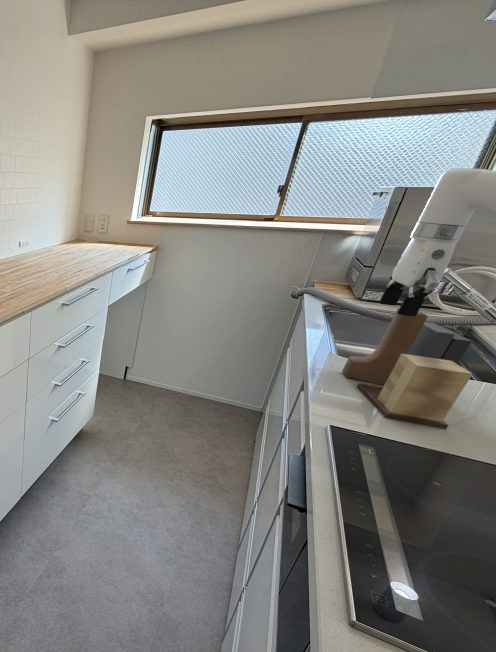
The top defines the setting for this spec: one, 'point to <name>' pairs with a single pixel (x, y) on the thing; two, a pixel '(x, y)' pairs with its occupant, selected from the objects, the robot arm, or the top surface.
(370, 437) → the top surface
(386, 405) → the wood cube on plate
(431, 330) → the grey books
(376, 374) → the brown l-shaped piece
